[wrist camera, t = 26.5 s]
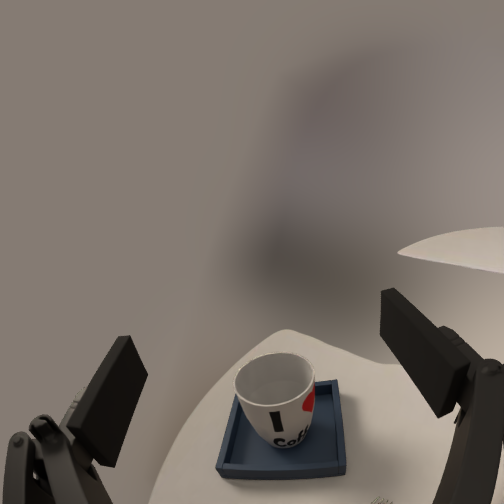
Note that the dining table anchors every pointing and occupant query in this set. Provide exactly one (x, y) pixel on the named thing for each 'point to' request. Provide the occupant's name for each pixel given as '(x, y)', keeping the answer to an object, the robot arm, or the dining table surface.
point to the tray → (287, 459)
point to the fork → (380, 501)
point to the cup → (277, 396)
